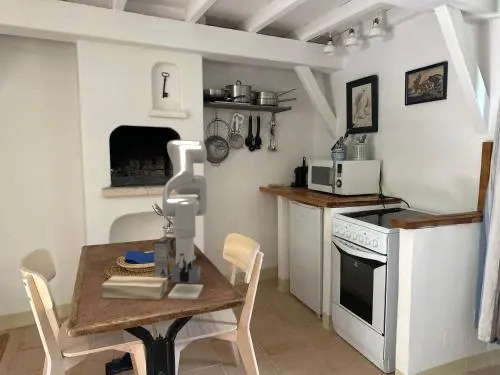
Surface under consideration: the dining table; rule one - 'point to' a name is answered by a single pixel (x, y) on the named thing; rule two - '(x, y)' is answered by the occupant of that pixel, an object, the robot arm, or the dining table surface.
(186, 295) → the tile
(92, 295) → the dining table surface
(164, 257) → the coffee box
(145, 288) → the body
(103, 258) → the dining table surface
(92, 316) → the dining table surface
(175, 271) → the grey metal block
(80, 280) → the dining table surface
